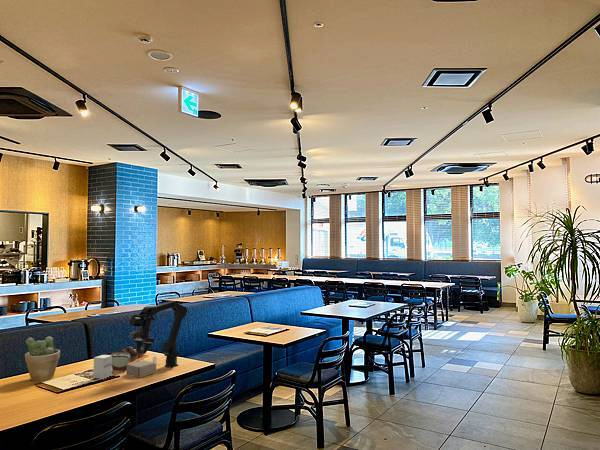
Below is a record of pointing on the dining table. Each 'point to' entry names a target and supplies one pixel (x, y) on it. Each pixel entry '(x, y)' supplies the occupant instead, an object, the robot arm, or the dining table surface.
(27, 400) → the dining table surface
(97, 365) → the supplement box
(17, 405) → the dining table surface
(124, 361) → the food container
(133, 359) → the tray of pastries
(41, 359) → the potted plant
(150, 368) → the end flap
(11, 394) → the dining table surface
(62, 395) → the dining table surface
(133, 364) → the carton
